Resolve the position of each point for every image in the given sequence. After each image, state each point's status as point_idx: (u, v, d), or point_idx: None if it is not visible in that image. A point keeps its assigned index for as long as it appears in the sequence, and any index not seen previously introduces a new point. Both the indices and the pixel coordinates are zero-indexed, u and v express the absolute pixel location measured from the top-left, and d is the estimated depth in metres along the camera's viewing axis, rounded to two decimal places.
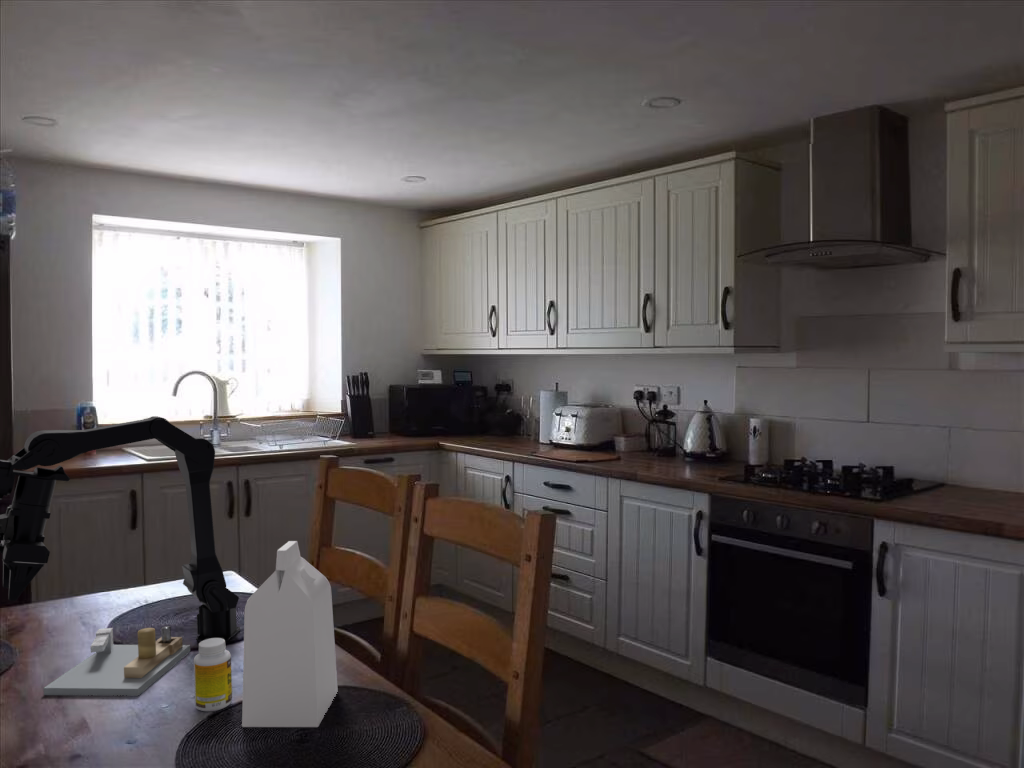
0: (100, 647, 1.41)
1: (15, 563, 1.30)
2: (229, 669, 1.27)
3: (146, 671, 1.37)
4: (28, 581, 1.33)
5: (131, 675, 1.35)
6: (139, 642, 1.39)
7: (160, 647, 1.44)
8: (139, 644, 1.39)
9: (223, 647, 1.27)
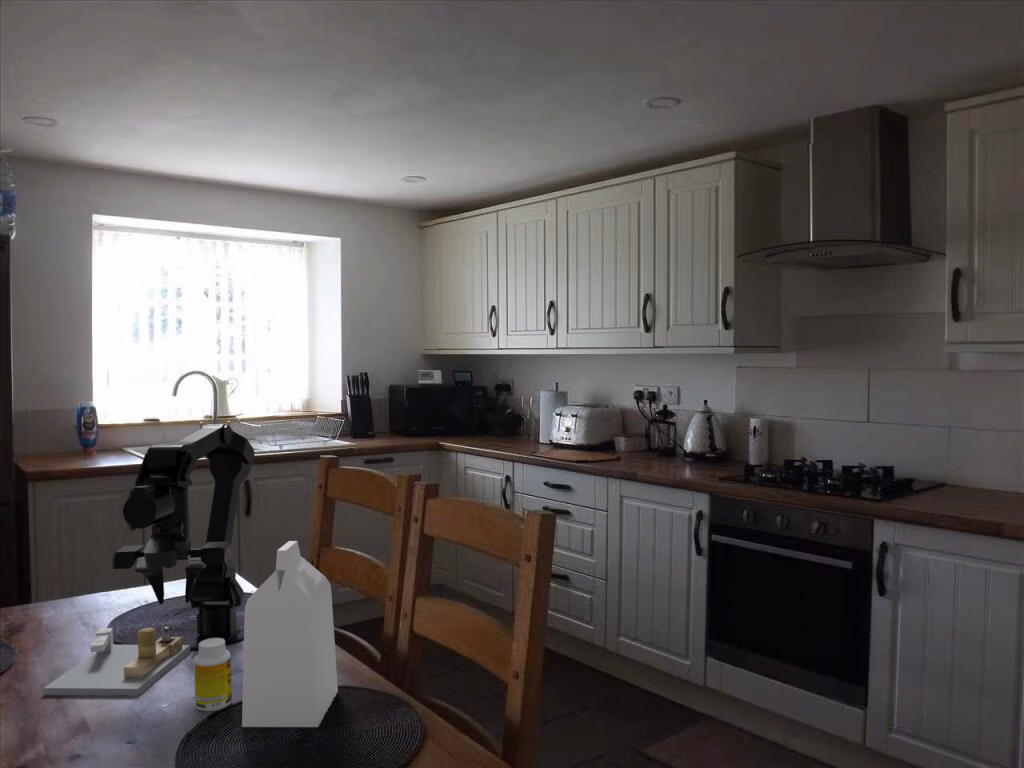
0: (100, 647, 1.41)
1: (204, 565, 1.40)
2: (229, 669, 1.27)
3: (146, 671, 1.37)
4: (196, 579, 1.43)
5: (131, 675, 1.35)
6: (139, 642, 1.39)
7: (160, 647, 1.44)
8: (139, 644, 1.39)
9: (223, 647, 1.27)
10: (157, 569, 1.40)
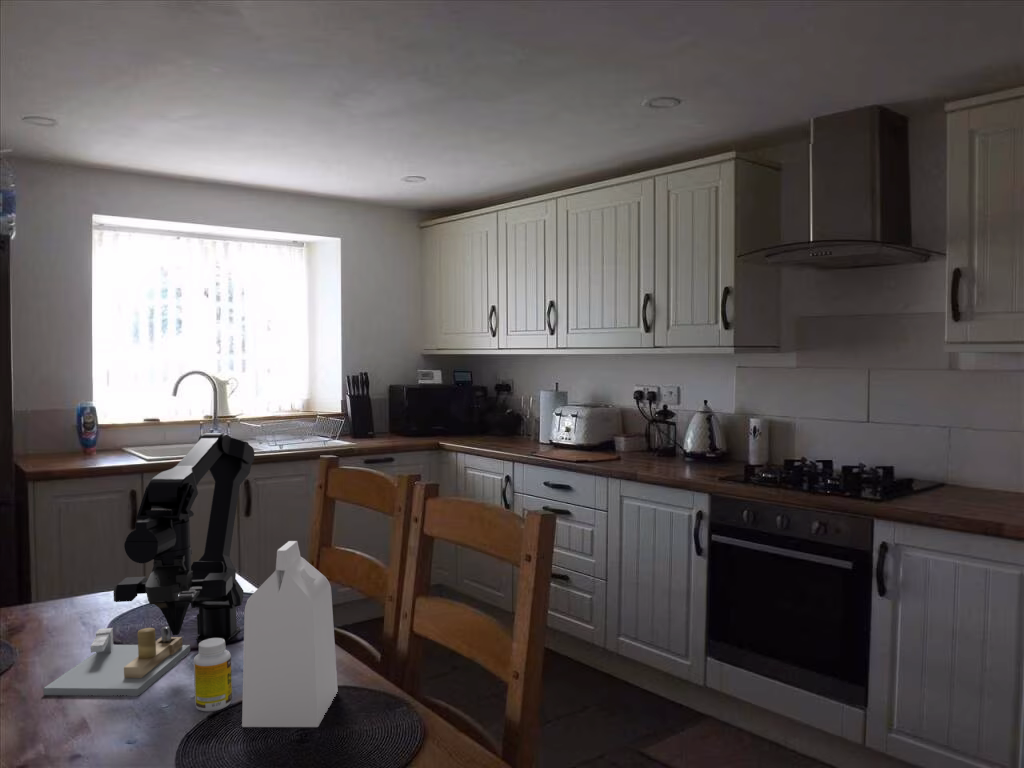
0: (100, 647, 1.41)
1: (194, 598, 1.40)
2: (229, 669, 1.27)
3: (146, 671, 1.37)
4: (186, 611, 1.43)
5: (131, 675, 1.35)
6: (139, 642, 1.39)
7: (160, 647, 1.44)
8: (139, 644, 1.39)
9: (223, 647, 1.27)
10: (170, 600, 1.41)
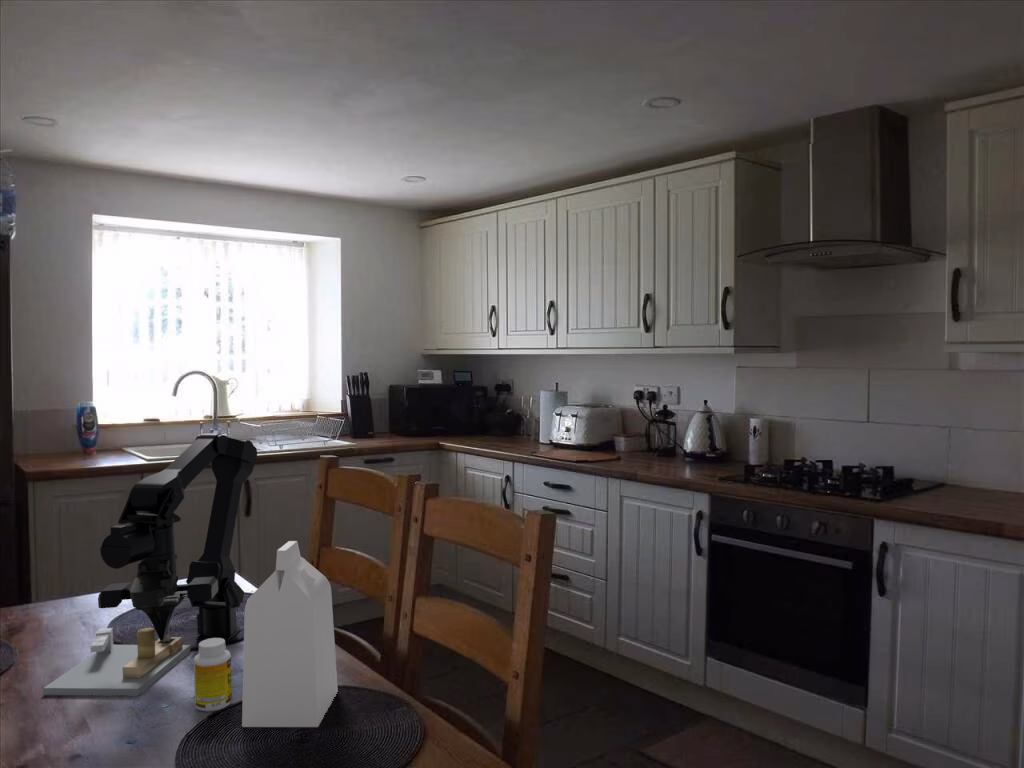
0: (100, 647, 1.41)
1: (178, 603, 1.40)
2: (229, 669, 1.27)
3: (145, 671, 1.37)
4: (171, 616, 1.42)
5: (129, 675, 1.35)
6: (138, 642, 1.39)
7: (160, 647, 1.44)
8: (138, 644, 1.39)
9: (223, 647, 1.27)
10: (157, 605, 1.40)
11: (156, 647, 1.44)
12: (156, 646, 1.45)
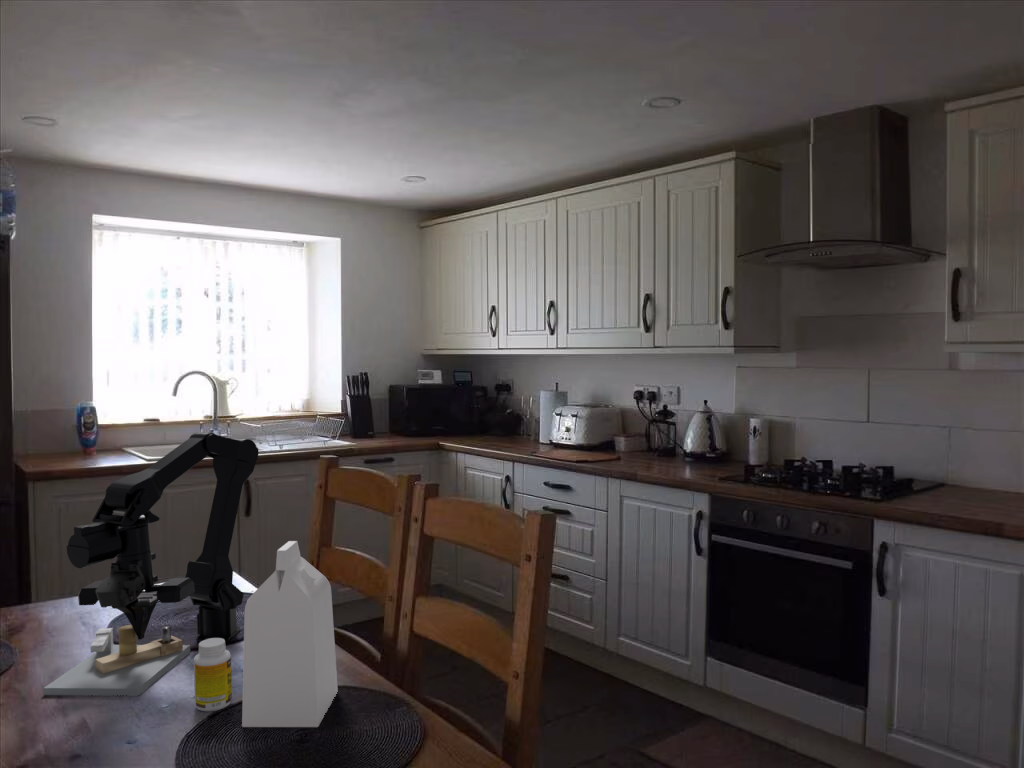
0: (100, 647, 1.41)
1: (151, 603, 1.39)
2: (229, 669, 1.27)
3: (113, 668, 1.38)
4: (150, 616, 1.43)
5: (98, 669, 1.38)
6: (119, 638, 1.41)
7: (150, 646, 1.44)
8: (119, 640, 1.41)
9: (223, 647, 1.27)
10: None
11: (148, 645, 1.45)
12: (150, 644, 1.45)
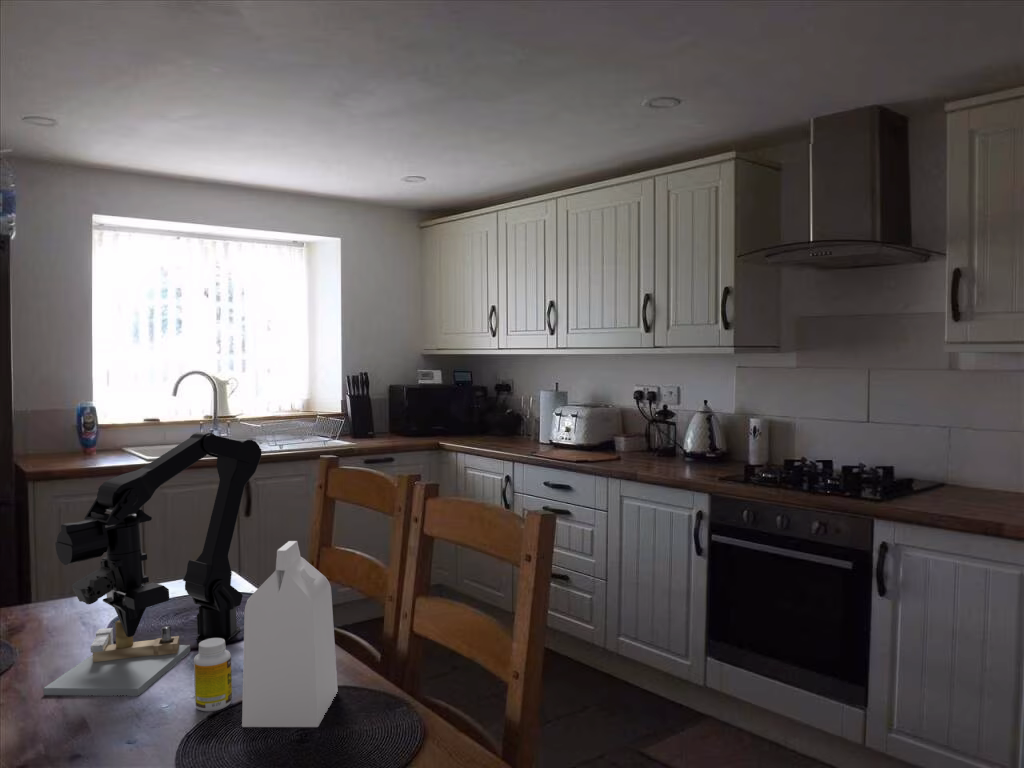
0: (100, 647, 1.41)
1: None
2: (229, 669, 1.27)
3: (103, 658, 1.43)
4: (140, 615, 1.43)
5: None
6: None
7: (146, 644, 1.46)
8: None
9: (223, 647, 1.27)
10: None
11: (148, 642, 1.46)
12: (151, 641, 1.47)
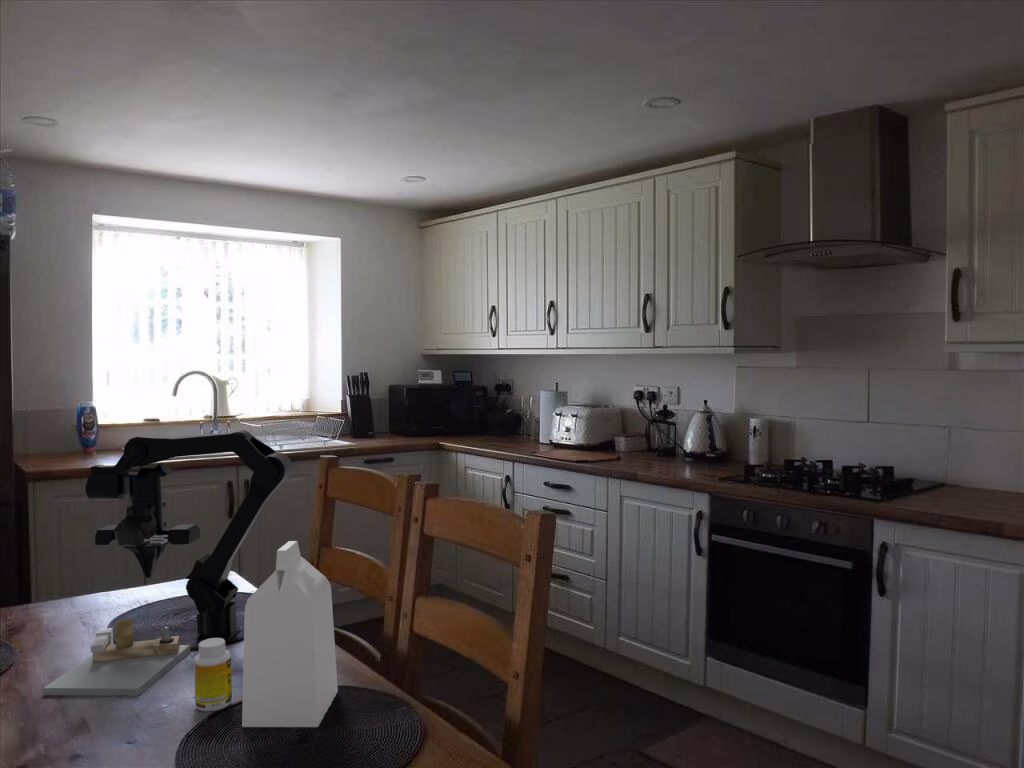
0: (100, 647, 1.41)
1: (163, 545, 1.55)
2: (229, 669, 1.27)
3: (103, 658, 1.43)
4: (159, 557, 1.58)
5: None
6: None
7: (146, 644, 1.46)
8: None
9: (223, 647, 1.27)
10: (144, 546, 1.56)
11: (148, 642, 1.46)
12: (151, 641, 1.47)
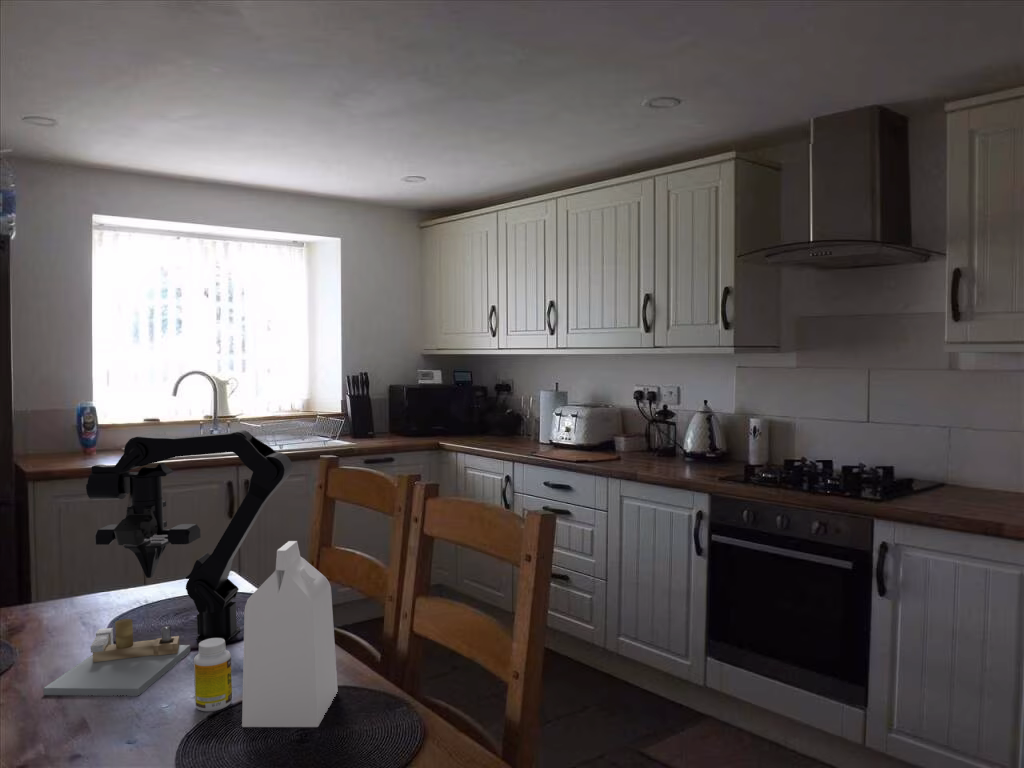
0: (100, 647, 1.41)
1: (163, 545, 1.55)
2: (229, 669, 1.27)
3: (103, 658, 1.43)
4: (159, 557, 1.58)
5: None
6: None
7: (146, 644, 1.46)
8: None
9: (223, 647, 1.27)
10: (145, 546, 1.57)
11: (148, 642, 1.46)
12: (151, 641, 1.47)
